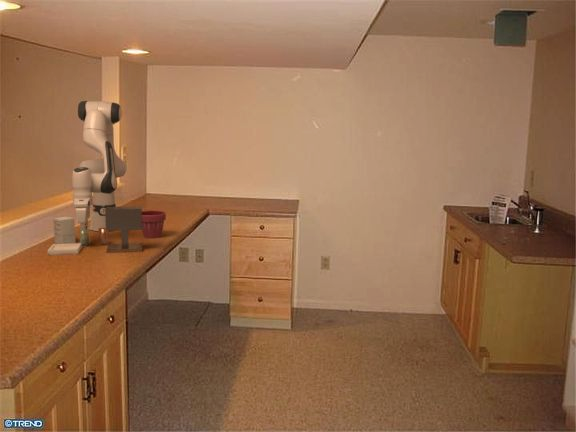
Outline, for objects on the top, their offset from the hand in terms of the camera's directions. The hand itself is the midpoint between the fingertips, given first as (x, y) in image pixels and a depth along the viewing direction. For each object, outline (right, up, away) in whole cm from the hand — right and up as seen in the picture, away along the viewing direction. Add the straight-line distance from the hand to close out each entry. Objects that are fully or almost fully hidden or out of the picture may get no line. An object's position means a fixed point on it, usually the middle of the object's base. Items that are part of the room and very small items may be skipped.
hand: (84, 229), depth 278 cm
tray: (-5, -10, -11) cm, 16 cm away
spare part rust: (+8, -7, +4) cm, 12 cm away
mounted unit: (+21, -9, -6) cm, 24 cm away
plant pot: (+28, -4, +23) cm, 36 cm away
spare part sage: (-1, -8, +2) cm, 8 cm away
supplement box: (-12, -7, +6) cm, 15 cm away
